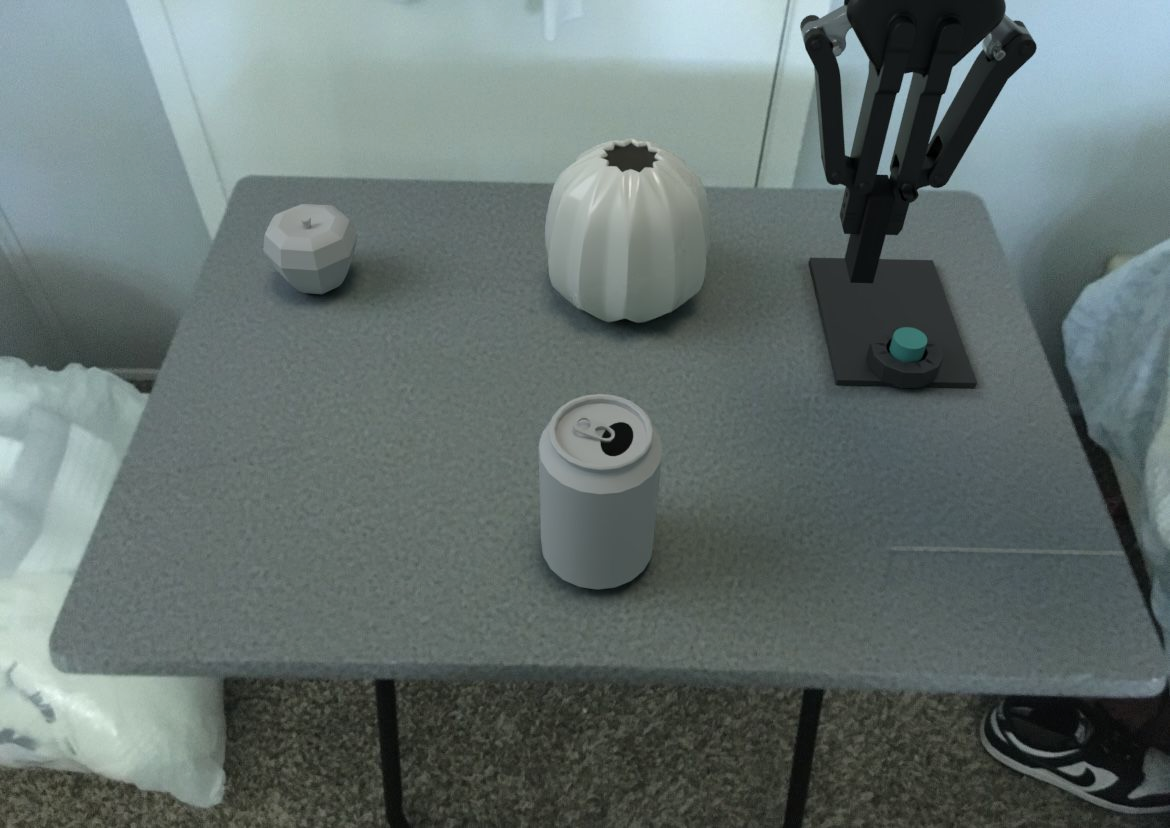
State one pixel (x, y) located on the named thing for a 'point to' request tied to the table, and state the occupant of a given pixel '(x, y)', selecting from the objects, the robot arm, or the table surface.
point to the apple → (311, 246)
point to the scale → (889, 325)
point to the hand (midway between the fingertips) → (858, 270)
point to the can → (599, 490)
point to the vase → (628, 231)
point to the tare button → (908, 345)
